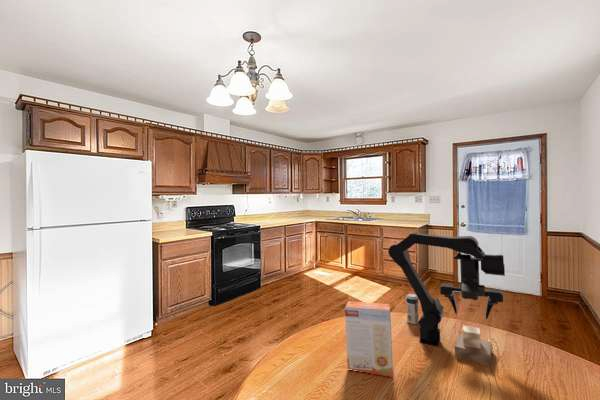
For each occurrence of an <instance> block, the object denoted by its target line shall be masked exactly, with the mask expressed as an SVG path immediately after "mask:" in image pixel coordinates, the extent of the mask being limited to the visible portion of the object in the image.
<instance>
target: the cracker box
mask: <svg viewBox="0 0 600 400" xmlns="http://www.w3.org/2000/svg"><path fill="white" fill-rule="evenodd" d="M344 313H345V340H346V342H345V343H346V345H345V346H346V363H347V364H346V365H347V370H348V369H352V370H357V371H362V372H367V373H366V374H368V373H371V374H370V375H375V374H377V376H383V377H388V376H389V377H390V378H392V377H393V372H394V371H393V366H394V365H393V363H394V361H393V340H392V322H391V321H392V319H391V303H381V302H380V303H377V302H367V301H366V302H362V301H352V300H350V301H349V300H348V301H347V303H346V305H345V308H344ZM362 372H361V373H362Z"/></svg>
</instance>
